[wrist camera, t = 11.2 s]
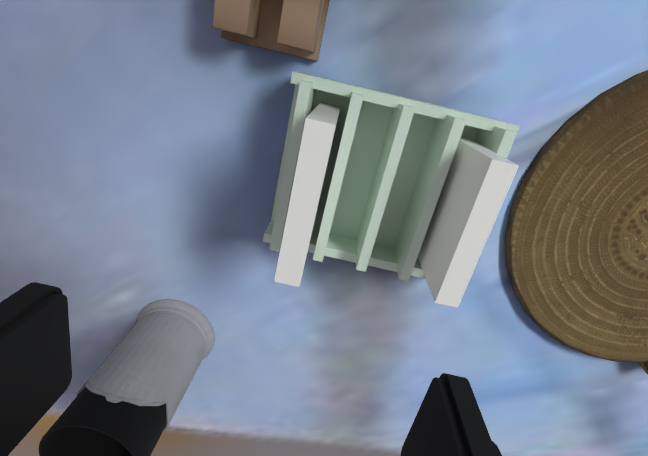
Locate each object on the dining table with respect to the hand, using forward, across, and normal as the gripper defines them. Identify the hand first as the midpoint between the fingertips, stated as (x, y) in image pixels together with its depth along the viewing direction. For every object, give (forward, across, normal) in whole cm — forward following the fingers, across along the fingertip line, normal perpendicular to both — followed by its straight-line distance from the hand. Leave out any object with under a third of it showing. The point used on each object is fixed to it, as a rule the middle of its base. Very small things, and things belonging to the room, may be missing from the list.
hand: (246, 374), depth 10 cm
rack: (+26, -5, 0) cm, 26 cm away
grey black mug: (+26, +12, +25) cm, 38 cm away
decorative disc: (+26, -32, -1) cm, 42 cm away
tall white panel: (+25, 0, 0) cm, 25 cm away
